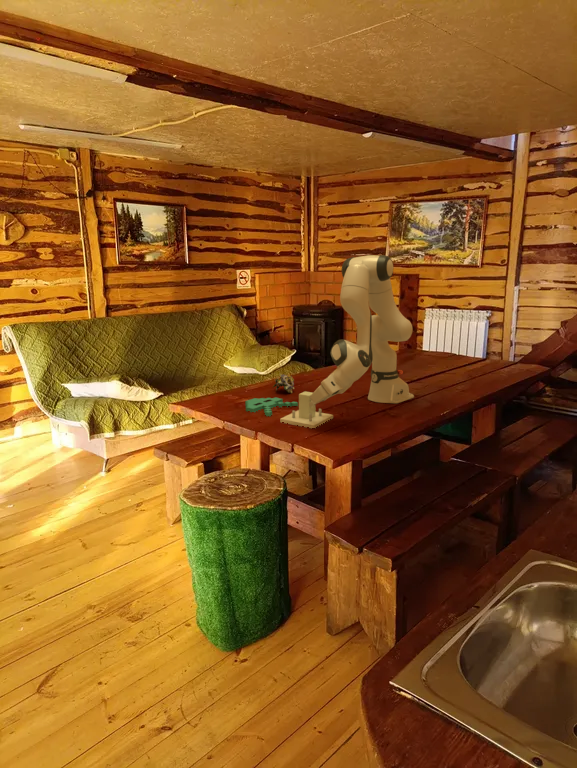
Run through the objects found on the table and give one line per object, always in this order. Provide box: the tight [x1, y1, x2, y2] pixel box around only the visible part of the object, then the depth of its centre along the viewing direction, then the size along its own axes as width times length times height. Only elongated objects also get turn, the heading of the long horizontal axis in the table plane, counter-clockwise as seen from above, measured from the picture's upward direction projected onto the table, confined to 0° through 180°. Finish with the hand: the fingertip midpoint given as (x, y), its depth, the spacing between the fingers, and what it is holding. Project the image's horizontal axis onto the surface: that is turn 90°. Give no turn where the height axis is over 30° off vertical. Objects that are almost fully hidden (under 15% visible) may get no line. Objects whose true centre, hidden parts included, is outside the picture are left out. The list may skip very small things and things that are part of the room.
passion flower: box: [272, 372, 295, 394], centre depth 272 cm, size 11×11×12 cm
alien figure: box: [245, 396, 299, 417], centre depth 248 cm, size 20×2×20 cm
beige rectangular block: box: [298, 390, 316, 419], centre depth 228 cm, size 5×5×10 cm
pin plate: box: [279, 408, 334, 429], centre depth 229 cm, size 16×16×4 cm
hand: (316, 402), depth 225 cm, fingers open, 8 cm apart
